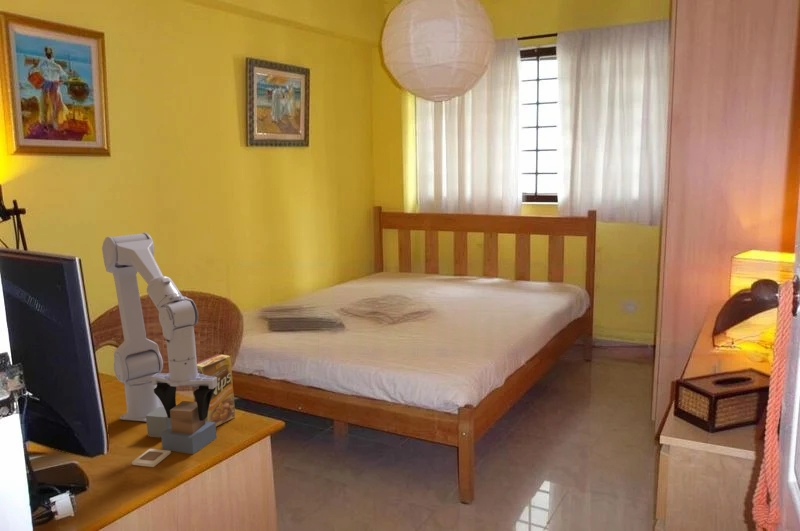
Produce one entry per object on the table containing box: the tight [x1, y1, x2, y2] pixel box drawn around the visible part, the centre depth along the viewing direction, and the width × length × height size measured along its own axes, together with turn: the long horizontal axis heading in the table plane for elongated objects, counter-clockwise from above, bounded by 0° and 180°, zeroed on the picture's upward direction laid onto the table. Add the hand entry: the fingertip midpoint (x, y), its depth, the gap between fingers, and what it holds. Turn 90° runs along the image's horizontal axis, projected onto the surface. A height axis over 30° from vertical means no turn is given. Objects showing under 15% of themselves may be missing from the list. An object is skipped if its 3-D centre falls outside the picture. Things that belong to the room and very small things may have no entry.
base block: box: [161, 421, 218, 455], centre depth 140 cm, size 8×8×4 cm
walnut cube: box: [170, 400, 205, 434], centre depth 139 cm, size 5×5×5 cm
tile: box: [131, 448, 172, 468], centre depth 134 cm, size 6×5×1 cm
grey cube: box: [146, 407, 171, 438], centre depth 146 cm, size 5×5×5 cm
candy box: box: [191, 353, 236, 427], centre depth 149 cm, size 9×4×15 cm, turn 150°
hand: (187, 417), depth 139 cm, fingers open, 7 cm apart
